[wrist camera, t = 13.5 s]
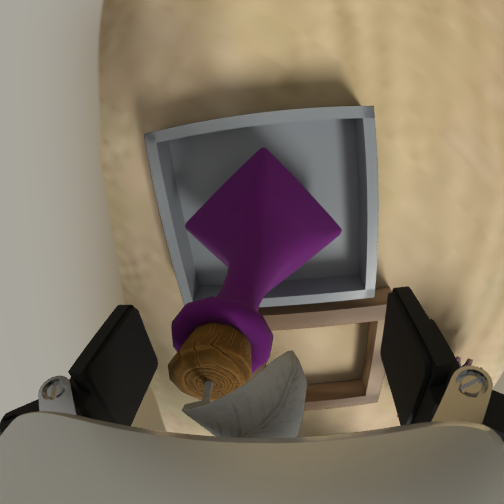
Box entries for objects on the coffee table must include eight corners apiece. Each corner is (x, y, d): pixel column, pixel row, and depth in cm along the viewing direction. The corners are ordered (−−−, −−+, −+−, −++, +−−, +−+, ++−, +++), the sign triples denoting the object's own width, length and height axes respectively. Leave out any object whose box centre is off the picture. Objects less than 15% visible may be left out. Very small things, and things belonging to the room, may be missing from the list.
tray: (365, 278, 25) (374, 297, 22) (194, 291, 27) (185, 310, 24) (361, 106, 19) (373, 105, 16) (159, 131, 21) (143, 133, 18)
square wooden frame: (373, 385, 31) (377, 402, 28) (256, 395, 33) (254, 412, 30) (389, 287, 25) (397, 302, 23) (237, 300, 27) (233, 317, 25)
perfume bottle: (263, 274, 25) (235, 500, 9) (195, 210, 23) (56, 403, 7) (335, 215, 22) (425, 435, 6) (265, 141, 20) (206, 249, 4)
